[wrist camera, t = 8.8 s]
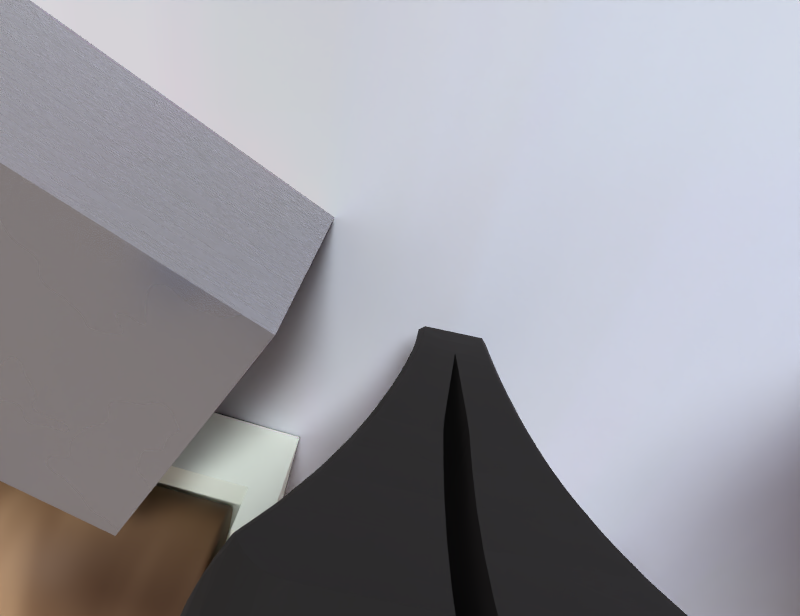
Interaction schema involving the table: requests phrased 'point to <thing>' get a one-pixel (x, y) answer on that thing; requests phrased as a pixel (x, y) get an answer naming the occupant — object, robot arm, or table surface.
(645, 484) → the table surface
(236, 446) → the cradle
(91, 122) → the slab
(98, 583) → the roller
